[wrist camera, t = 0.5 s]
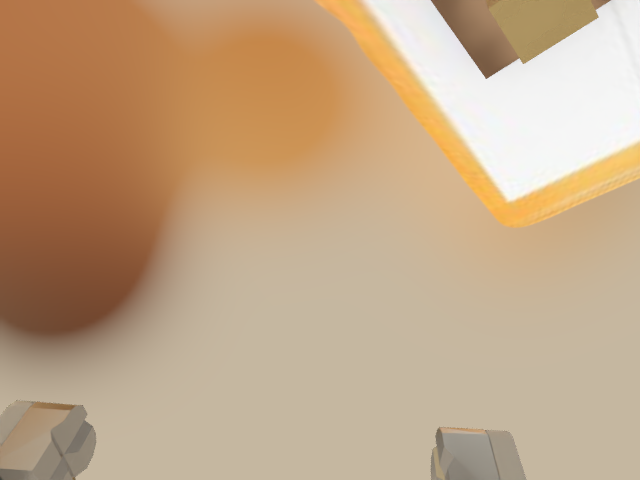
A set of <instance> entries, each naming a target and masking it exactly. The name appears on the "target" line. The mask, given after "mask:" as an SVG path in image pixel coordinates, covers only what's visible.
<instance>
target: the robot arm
mask: <svg viewBox="0 0 640 480" xmlns="http://www.w3.org/2000/svg"><path fill="white" fill-rule="evenodd" d="M86 416H87V412H86V410H85V408H84V407H83V405H72V404H59V403H46V402H36V401H20V400H16V401H15V402H14V403H12V404H10V405H9V406H8V407H7V408H6V409H5V411H4V412H3V413H2V414H1V416H0V480H75V477H76V476H77V475H78V474H79V473H81V472H82V471H84V470H85V469H86V468H87V467H88V465H89V463H90V461H91V458H92V456H93V453H94V449H95V445H96V433H95V430H94V428H93V426H92V425H90V424H89V423H88V422H86V421H85V418H86ZM436 444H437V446H436V447H435V448H434V449H433V451H432V457H431V480H526V477H525V474H524V471H523V468H522V465H521V461H520V458H519V455H518V452H517V449H516V445H515V442H514V439H513V436H512V435H511V434H510V432H508V431H494V430H483V429H468V428H466V429H465V428H446V427H439V428H438V430H437V433H436Z"/></svg>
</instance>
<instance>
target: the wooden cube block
mask: <svg viewBox="0 0 640 480" xmlns="http://www.w3.org/2000/svg"><path fill="white" fill-rule="evenodd" d="M486 3H487V6H488V9H489V11H490V12H491V14H492V15H493V17H494V19H495V20H496V22H497V23H498V25H499V26H500V28H501V30H502V31H503V33H504V34H505V36H506V37H507V39H508V41H509V42H510V44H511V45H512V47H513V49H514V50H515V52H516V53H517V55H518V56H519V58H520V60H521V61H522V63H523V64H524V63H526V62H528V61H529V60H531V59H532V58H534V57H536V56H537V55H539V54H540V53H542V52H544V51H545V50H547V49H548V48H550V47H552V46H553V45H555V44H556V43H558V42H560V41H561V40H563V39H565V38H566V37H568V36H569V35H571V34H573V33H574V32H576V31H577V30H579V29H581V28H582V27H584V26H585V25H587V24H589V23H590V22H592V21H593V20H595V19H597V18H598V15H597V13H596V11H595V8H594V6H593V4H592V2H591V0H486Z"/></svg>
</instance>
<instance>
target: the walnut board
mask: <svg viewBox="0 0 640 480" xmlns="http://www.w3.org/2000/svg"><path fill="white" fill-rule="evenodd" d="M431 1H432V3H433V4H434V5H435V7H436V8H437V10H438V11H439V12H440V14H441V15H442V17H443V18H444V20H445V21H446V22H447V24H448V25H449V27H450V28H451V30H452V31H453V32H454V34H455V35H456V37H457V38H458V39H459V41H460V42H461V44H462V45H463V47H464V48H465V49H466V51H467V52H468V54H469V55H470V56H471V58H472V59H473V61H474V62H475V64H476V65H477V66H478V68H479V69H480V71H481V72H482V74H483V75H484V76H485V78H486V79H487V78H489V77H490V76H492V75H493V74H495V73H496V72H498V71H500V70H501V69H503V68H504V67H506V66H508V65H509V64H511V63H512V62H514V61H515V60H517V59H519V56H518V55H517V53H516V52H515V50H514V49H513V47H512V45H511V44H510V42H509V41H508V39H507V37H506V36H505V34H504V33H503V31H502V30H501V28H500V26H499V25H498V23H497V22H496V20H495V19H494V17H493V15H492V14H491V12H490V11H489V9H488V6H487V3H486V0H431ZM609 1H610V0H591V2H592V4H593V6H594V8H595V10H596V9H598V8H599V7H601V6H602V5H604V4H606V3H607V2H609Z"/></svg>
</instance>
